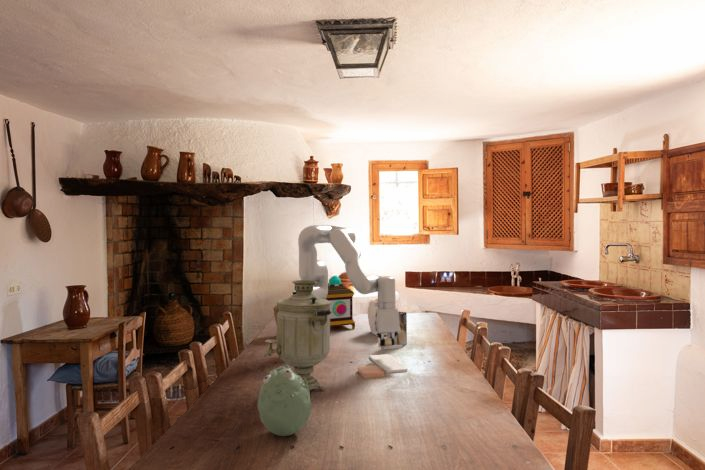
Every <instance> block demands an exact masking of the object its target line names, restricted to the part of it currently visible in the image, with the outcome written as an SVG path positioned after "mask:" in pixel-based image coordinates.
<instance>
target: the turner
mask: <svg viewBox="0 0 705 470" xmlns="http://www.w3.org/2000/svg"><path fill="white" fill-rule="evenodd" d="M384 340H385V346H380V338H379V337H377V347H378V348H380V349H383V350H393V349H403V347H404V345H392V341H391V338H387V337H384Z"/></svg>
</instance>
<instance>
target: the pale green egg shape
mask: <svg viewBox="0 0 705 470" xmlns="http://www.w3.org/2000/svg"><path fill="white" fill-rule="evenodd" d="M310 391H311V390H309V388H308V384H307V380H306V379H304V380H302V378H301V377H300V375H297V373H295V372H294V370H292V368H291V366H290V365H288V364H285V365H280V366H278V367H275V368H274V369H272V370H269V371H268V374H266V375H265V376H264V378H263V380H262V384H261V387H260V389H259V393H258V399H257V404H256V405H257V410H258V413H259V419H260V421H261V424H263V426H264V427H265V429H267V430H268V432H270V433H272V434H274V435H276V436H279V437H288V436H291V435H294V434H296V433H297V432H298V431H300V430H301V429H302V428H303V427H304V426H305V425H306V423H307V421H308V420H309V418H310V415H311V413H312V409H313V408H312V406H313V405H312V400H311V395H310V394H311V393H310Z"/></svg>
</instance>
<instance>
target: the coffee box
mask: <svg viewBox="0 0 705 470" xmlns="http://www.w3.org/2000/svg"><path fill="white" fill-rule="evenodd" d="M398 314H399V324H400V328H401V330H402V332H400V333H399V334H397V335H396V337H395V338H394V345H403V346H406V345H407V344H408V343H407V341H408V338H407V336H408V334H407V333H408V331H407V328H408V327H407V326H408V325H407V324H408V323H407V322H408V320H407V315H408V314H407V312H406V311H398ZM386 338H390V332H389V333H387V335H386Z"/></svg>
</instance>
